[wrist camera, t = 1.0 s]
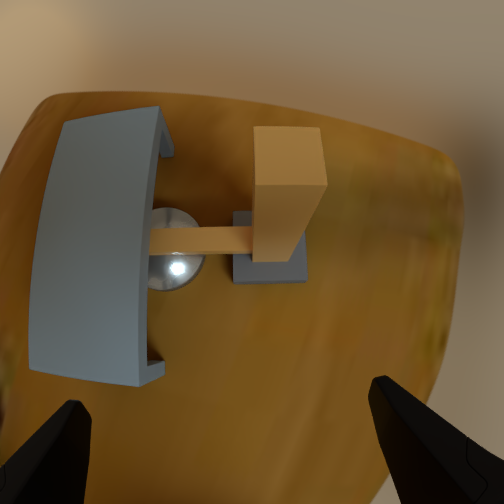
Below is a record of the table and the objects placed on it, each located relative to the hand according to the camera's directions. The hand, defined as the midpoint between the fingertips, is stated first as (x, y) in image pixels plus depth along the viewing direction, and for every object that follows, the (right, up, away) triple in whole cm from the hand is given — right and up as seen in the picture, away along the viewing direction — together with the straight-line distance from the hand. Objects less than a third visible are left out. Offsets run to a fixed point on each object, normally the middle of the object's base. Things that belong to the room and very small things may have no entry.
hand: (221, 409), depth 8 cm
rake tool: (-3, +5, +15) cm, 16 cm away
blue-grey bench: (-9, +4, +14) cm, 18 cm away
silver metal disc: (-5, +4, +15) cm, 16 cm away
